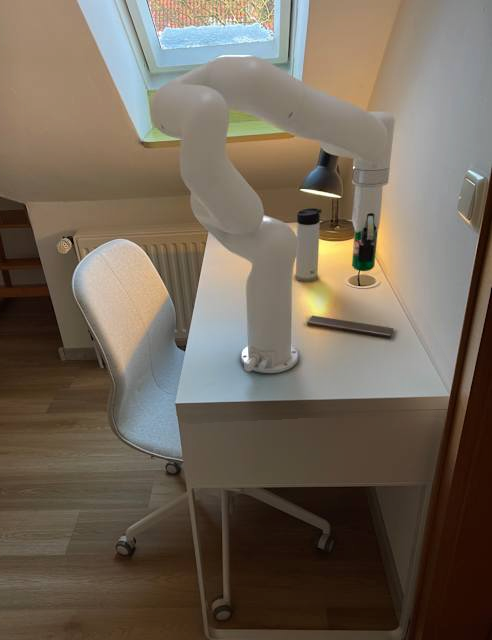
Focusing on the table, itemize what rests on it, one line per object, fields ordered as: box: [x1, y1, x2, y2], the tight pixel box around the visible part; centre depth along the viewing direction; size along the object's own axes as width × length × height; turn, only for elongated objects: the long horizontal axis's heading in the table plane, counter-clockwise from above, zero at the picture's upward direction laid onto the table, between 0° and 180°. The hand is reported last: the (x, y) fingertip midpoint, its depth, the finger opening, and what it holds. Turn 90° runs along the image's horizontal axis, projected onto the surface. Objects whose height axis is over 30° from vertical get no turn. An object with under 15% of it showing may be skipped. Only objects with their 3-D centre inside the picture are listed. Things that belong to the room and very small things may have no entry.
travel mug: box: [295, 207, 322, 283], centre depth 154 cm, size 6×7×20 cm
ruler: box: [306, 315, 394, 340], centre depth 132 cm, size 4×20×1 cm, turn 65°
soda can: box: [351, 228, 379, 272], centre depth 124 cm, size 5×5×12 cm
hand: (363, 255), depth 125 cm, fingers closed on soda can, 5 cm apart
